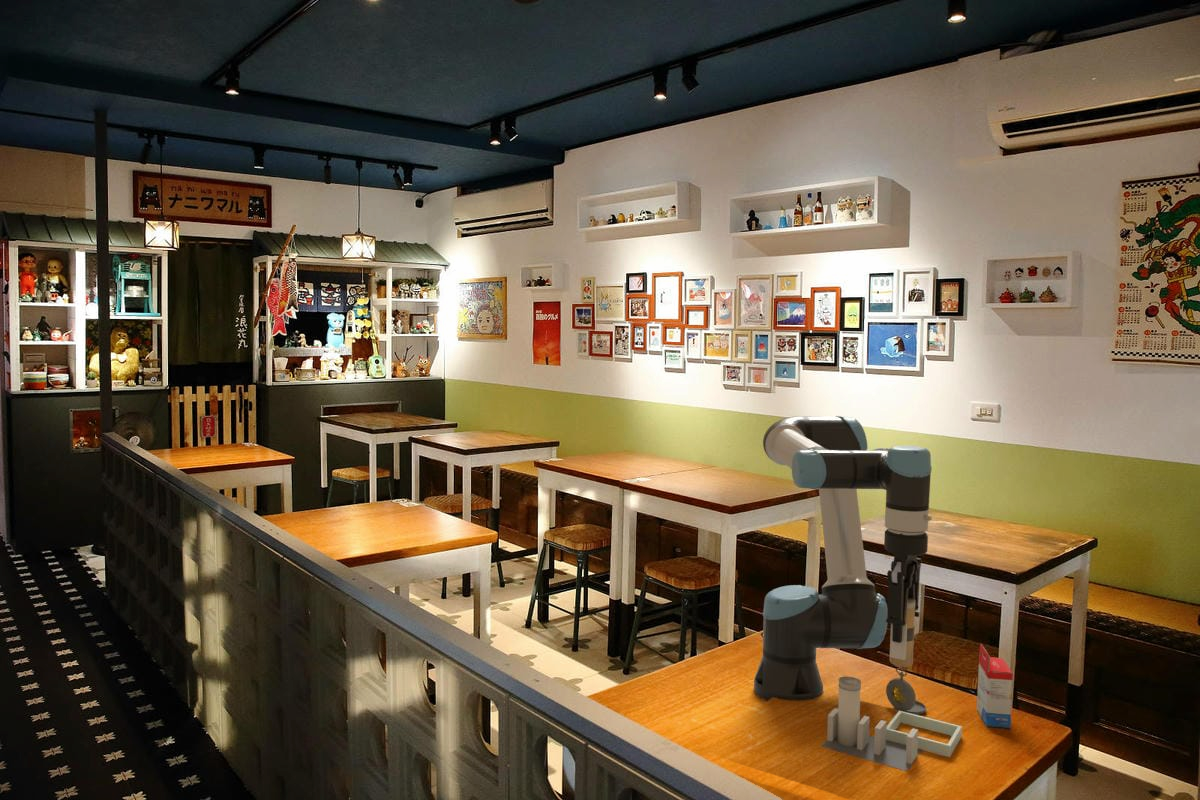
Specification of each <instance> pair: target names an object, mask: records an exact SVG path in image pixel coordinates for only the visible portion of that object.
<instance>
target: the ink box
mask: <svg viewBox="0 0 1200 800" xmlns="http://www.w3.org/2000/svg"><path fill="white" fill-rule="evenodd" d="M977 671H978V672H977V673H978V675H977V676H978V677H977V698H976V699H977V700H976V701H977V702H976V710H977V712H978V713H979V715H980V717H981V719H982V721H983V723H984V724H985V726H986V727H994V728H1004V729H1005V728H1006V729H1011V728H1012V727H1011V726H1012V693H1013V674H1014V673H1013V671H1012V670H1011V669H1010V667H1009V666H1008V664H1007V663H1006V662H1005V661H1004V659H1003V658H1001V657H995V656H994V657H993V656H990V655H989V653H988V651H987V650H986V649H985V647H984V645H983V643H980V645H979V654H978V670H977Z"/></svg>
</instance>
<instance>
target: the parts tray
mask: <svg viewBox="0 0 1200 800" xmlns="http://www.w3.org/2000/svg"><path fill="white" fill-rule="evenodd" d="M897 711H898V712H896V714H895V715H894V716H893V718H892V719H891V720H890V721H889V723H888V724H886V740H889V741H893V742H896V743H900V744H904V745H906V743H907V735H908V734H909V733H908V732H904V731H899V730H897V729H898V727H899V726H900V724H904V725H908V726H912V727H916V728H920V729H924V730H928V731H931V732H936V733H939V734H944V735H948V736H950V739H949V741H948V742H947V743H945V742H941V741H937V740H934V739H929V738H927V737H922V736H919V735H918V746H917V748H918V749H922V750H921V751H925V752H929V753H932V754H936V755H940V756H944V757H947V758H951V756H952V754H953V753H954V751H955V749H956V748H957V746H958V744H959V742H960V740H961V739H962V735H963V734H962V732H963V731H962V729H963V726H962V725H957V724H954V723H949V722H945V721H942V720H938V719H935V718H930V717H926V716H922V715H920V714H918V715H915V714H911V713H907V712H903V711H899V710H897Z"/></svg>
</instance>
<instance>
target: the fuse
mask: <svg viewBox="0 0 1200 800" xmlns="http://www.w3.org/2000/svg"><path fill="white" fill-rule="evenodd" d="M861 689H862V681H861V680H860V679H859V678H857V677H854V676H840V677H839V678H838V700H837V701H838V706H837V709H838V730H837V741H838V742H839V743H840V744H842V745H846V746H856V745H857V733H858V722H859V721H860V720H861V718H860V716H861V712H860V711H861Z"/></svg>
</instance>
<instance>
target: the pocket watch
mask: <svg viewBox="0 0 1200 800" xmlns="http://www.w3.org/2000/svg"><path fill="white" fill-rule="evenodd" d="M898 670H902V671H898ZM895 671H896V673H897V674H898V675H899V676H900V677H894V678H892V679H891V680H889V681H888V683H887V685H886V689H885V692H886V694H885V695H886V697H887V699H888V702H889V703H890V704H891V705H892V707H894V709H895V710H897V711H903V712H907V713H911V714H915V715H922V714H924V713H926V711H927V706H926V705H925V704H924V703H923V702H921V701H919V700H917V699H916V698H917V697H916V696H917V695H916V693H915V689H914V688H913V686H912V684H910V682H908V681H907V680H906V679H904V677H906V676H907V674H908V672H907V671H906V670H905V669H904V668H901V667H897V668H895Z"/></svg>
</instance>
